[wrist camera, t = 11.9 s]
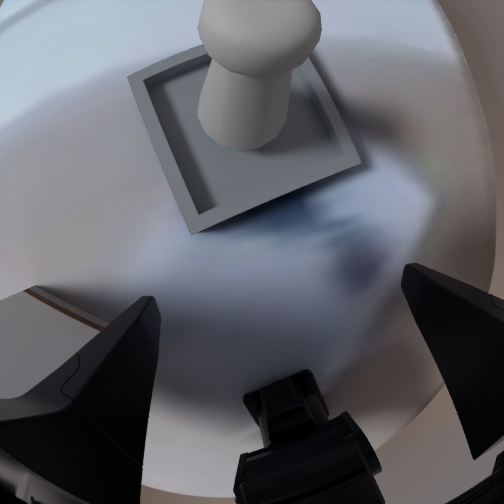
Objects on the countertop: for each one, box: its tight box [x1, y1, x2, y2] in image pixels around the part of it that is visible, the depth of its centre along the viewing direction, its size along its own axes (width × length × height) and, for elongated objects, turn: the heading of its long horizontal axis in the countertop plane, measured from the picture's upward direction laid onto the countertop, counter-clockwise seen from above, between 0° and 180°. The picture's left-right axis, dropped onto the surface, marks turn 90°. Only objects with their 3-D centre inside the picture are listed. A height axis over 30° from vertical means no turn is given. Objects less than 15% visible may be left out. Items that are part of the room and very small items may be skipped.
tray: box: [127, 45, 362, 235], centre depth 19 cm, size 13×13×2 cm
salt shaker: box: [197, 0, 322, 151], centre depth 13 cm, size 6×6×13 cm
